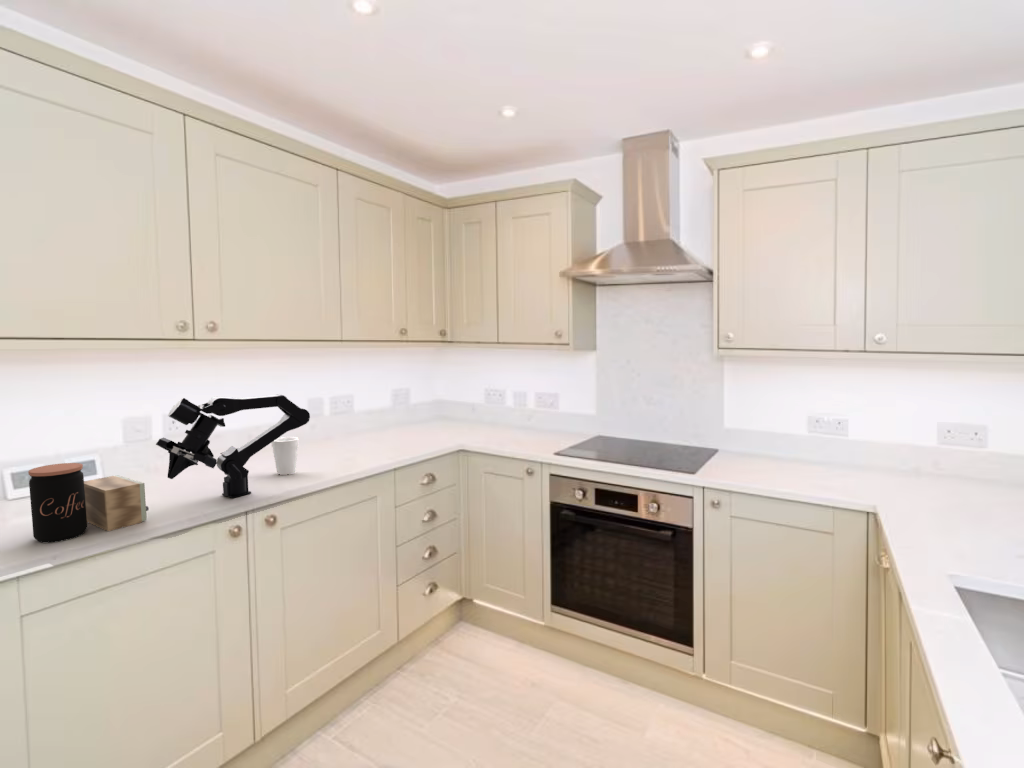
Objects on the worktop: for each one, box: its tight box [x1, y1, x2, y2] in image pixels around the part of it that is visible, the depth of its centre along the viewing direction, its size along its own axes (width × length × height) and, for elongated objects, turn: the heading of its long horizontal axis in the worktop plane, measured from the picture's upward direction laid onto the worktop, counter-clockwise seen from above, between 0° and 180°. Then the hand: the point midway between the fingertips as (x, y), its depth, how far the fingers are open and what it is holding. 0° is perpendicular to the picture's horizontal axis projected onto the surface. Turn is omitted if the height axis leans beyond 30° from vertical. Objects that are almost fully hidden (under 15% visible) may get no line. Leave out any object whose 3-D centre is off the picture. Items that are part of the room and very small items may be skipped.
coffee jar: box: [27, 462, 88, 543], centre depth 136 cm, size 11×11×18 cm
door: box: [115, 475, 149, 522], centre depth 151 cm, size 2×16×11 cm, turn 58°
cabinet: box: [84, 475, 143, 532], centre depth 147 cm, size 8×16×11 cm, turn 58°
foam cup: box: [270, 436, 300, 476], centre depth 200 cm, size 10×9×13 cm
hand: (169, 478), depth 158 cm, fingers closed
